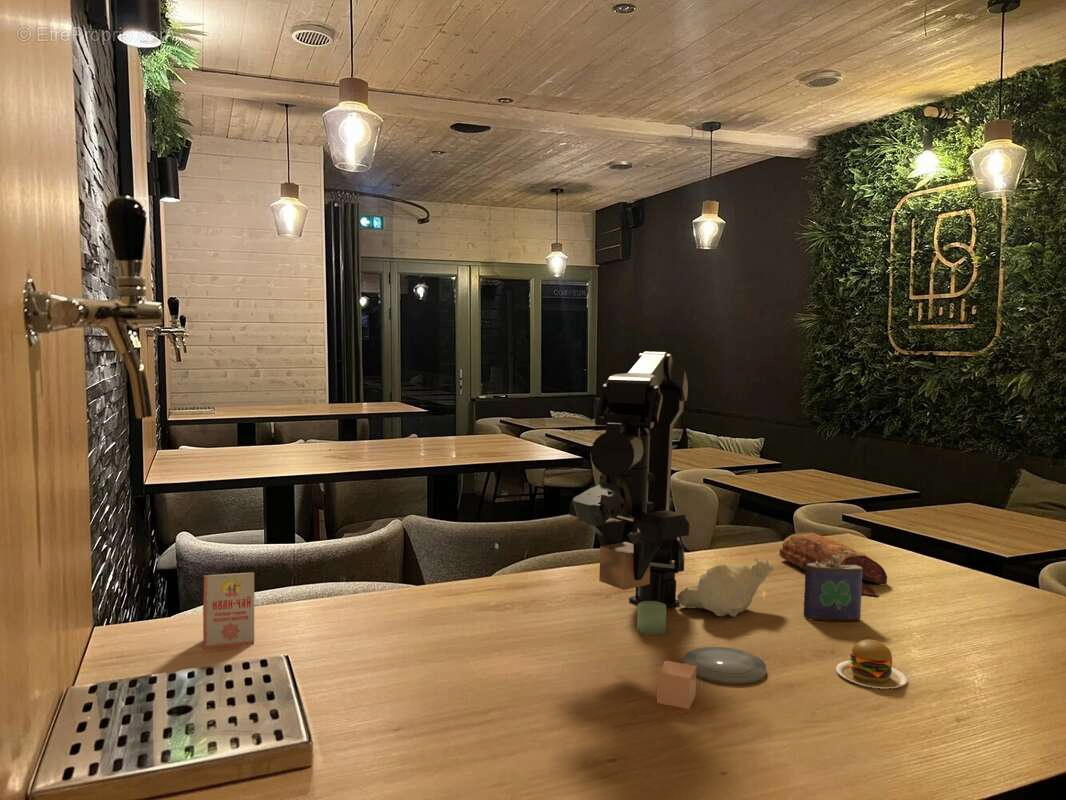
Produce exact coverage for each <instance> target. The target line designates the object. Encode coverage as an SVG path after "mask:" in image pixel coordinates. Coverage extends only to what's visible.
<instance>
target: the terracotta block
mask: <svg viewBox="0 0 1066 800" xmlns="http://www.w3.org/2000/svg"><path fill="white" fill-rule="evenodd" d="M696 667H697V666H694V665H688V664H684V663H681V662H676V661H675V662H674V661H669V660H665V661H664V662H663V664H662V665H661V667H660V668H659V670H657V692H656V693H657V695H656V703H657V704H661V705H667V706H672V707H675V708H676V707H677V708H680V709H681V708H682V709H686V710H689V709H690V708H691V707H692V704H693V701H694V700H695V698H696V689H697V676H696Z"/></svg>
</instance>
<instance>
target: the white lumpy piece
mask: <svg viewBox="0 0 1066 800" xmlns="http://www.w3.org/2000/svg"><path fill="white" fill-rule="evenodd" d="M754 561H755V563H753V564H749V565H748V564H746V565H727V564H717V565H714V566H713V567H711V568H709V569H706V572H705V573H702V574H701V575H700V577H699V580H698V583H697V584H696V585H692V586H687V587H685V589H683V590H681V591H679V593H678V594H677V595H676V598H677V600H679V603H680V604H679V605H681V606H683V607H685V608H697V609H705V610H707V611H710V612H712V613H714V614H715V615H716V616H717V617H724V616H727V615H728V616H731V617H732V618H733V617H734V618H735V617H737V615H738V614H739V613H742V612H743V611H745V610H747V609H748V608H749V607H750V605H751V603H752V601H753V598H754V596H755V595H756V593H757V591H758V588H759V587H760V585H762V584H763V583H764V582H765V581H766V580H767V577H768V576H769V575H770V574H772V572H773V571H775V568H774V566H773V563H771V562H770V561H768V560H767V559H765V560H762V561H761V560H758V558H754Z"/></svg>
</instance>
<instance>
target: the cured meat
mask: <svg viewBox="0 0 1066 800" xmlns="http://www.w3.org/2000/svg"><path fill="white" fill-rule="evenodd" d="M778 555H779V557H780V558H781V559H783V560H785V561H787V562H789V563H791V564H793V565H795V566H797V567H799V568H801V569H803V570H804V571H806V570H805V566H806V565H807V564H809V563H815V562H816V561H818V563H822V562H826V563H828V562H829V561H831V560H832V558H833V557H832V556H833V555H836V556H839V562H840V563H841V564H840V565H857V566H860V567H862V569H863V572H862V580H865V581H868V582H874V583H876V584H877V585H879V584H886V585H887V583H888V575H887V573H886V571H885V569H884V568H883V566H882V565H881V564H880V563H879V562H876V561H875V560H874V559H872V558H871V557H869V556H867V555H866V554H865V553H863V552H860V551H858V550H856V549H854V548H852V547H850V546H848V545H846V544H844V543H841V542H840V541H837V540H834V539H833V538H832V539H831V538H829V537H826V536H822V535H819V534H816V533H814V532H798V533H793V534H791V535H789V536H787V537H786V538H785V539H784V540H783V542H782V548H780V549H779V553H778ZM840 558H841V560H840ZM822 564H824V563H822ZM862 594H863V595H870V596H876V597H879V596H880V595H879V593H877V592H876V591H875V590H873V589H872V588H871V587H869V586H868V585H867V584H865V583H864V582H862ZM862 594H861V595H862Z"/></svg>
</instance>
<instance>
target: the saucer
mask: <svg viewBox="0 0 1066 800" xmlns="http://www.w3.org/2000/svg"><path fill="white" fill-rule="evenodd" d="M683 659H684V660H683V662H684V663H683V664H688V665H694V666H697V667H696V678H697V677H698V678H699V679H703V680H705V681H709V682H712V683H717V684H725V685H749V684H753V683H757V682H760V681H761V680H763V679H764V678H765V677H766V675H767V665H766V663H765V661H764V660H762V659H761V658H760V657H758V656H757V655H756V654H755V655H754V654H753V653H750V652H747V651H744V650H741V649H737V648H732V647H725V646H724V647H722V646H703V647H697V648H694V649H691V650H689V651H687V653H686V654H685V655H684V658H683Z"/></svg>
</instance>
